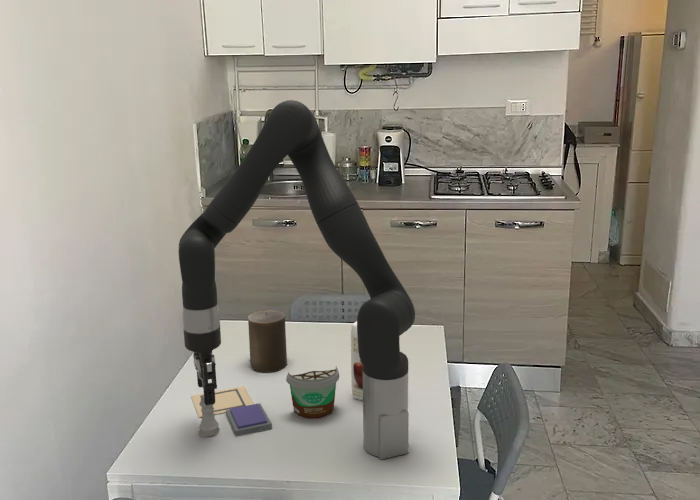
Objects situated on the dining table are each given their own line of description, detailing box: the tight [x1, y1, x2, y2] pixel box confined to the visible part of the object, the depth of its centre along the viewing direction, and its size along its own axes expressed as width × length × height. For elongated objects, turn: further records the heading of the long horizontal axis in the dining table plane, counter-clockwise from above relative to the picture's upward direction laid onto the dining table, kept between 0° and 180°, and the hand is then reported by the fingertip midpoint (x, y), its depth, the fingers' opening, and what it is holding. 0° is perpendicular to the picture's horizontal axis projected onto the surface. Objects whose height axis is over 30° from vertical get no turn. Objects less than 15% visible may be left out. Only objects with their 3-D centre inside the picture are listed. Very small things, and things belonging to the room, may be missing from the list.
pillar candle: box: [247, 309, 288, 373], centre depth 179 cm, size 10×10×15 cm
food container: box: [285, 365, 340, 420], centre depth 154 cm, size 12×6×10 cm, turn 105°
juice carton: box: [350, 320, 363, 401], centre depth 161 cm, size 8×9×19 cm
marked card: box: [190, 385, 255, 419], centre depth 162 cm, size 11×13×1 cm
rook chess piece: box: [198, 397, 220, 438], centre depth 148 cm, size 4×4×8 cm
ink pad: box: [225, 403, 273, 437], centre depth 153 cm, size 10×8×2 cm
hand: (206, 394), depth 147 cm, fingers open, 8 cm apart
